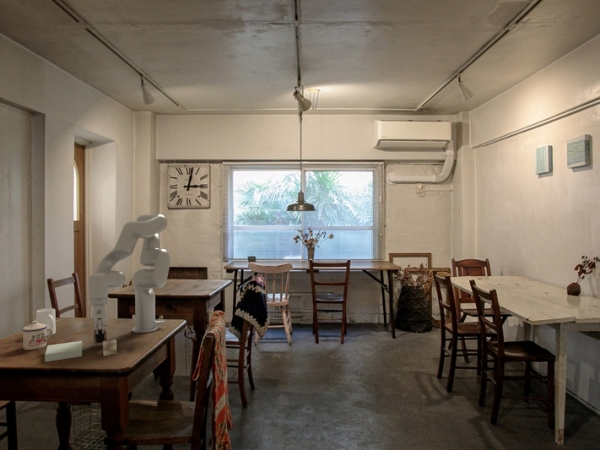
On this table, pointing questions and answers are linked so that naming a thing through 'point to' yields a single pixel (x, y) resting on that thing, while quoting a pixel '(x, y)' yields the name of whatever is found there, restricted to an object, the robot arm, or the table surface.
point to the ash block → (109, 347)
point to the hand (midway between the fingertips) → (100, 340)
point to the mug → (47, 319)
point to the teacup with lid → (35, 336)
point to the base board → (63, 351)
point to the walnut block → (104, 335)
